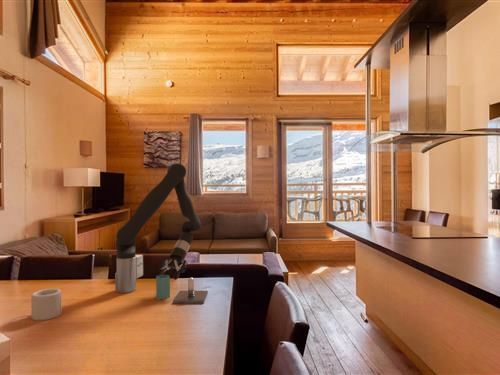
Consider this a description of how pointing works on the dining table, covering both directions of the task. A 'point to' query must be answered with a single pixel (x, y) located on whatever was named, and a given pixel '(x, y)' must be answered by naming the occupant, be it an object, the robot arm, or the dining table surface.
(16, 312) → the dining table surface
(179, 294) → the post base
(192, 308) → the dining table surface
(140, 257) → the supplement box
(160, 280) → the sleeve
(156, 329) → the dining table surface
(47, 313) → the mug
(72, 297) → the dining table surface
